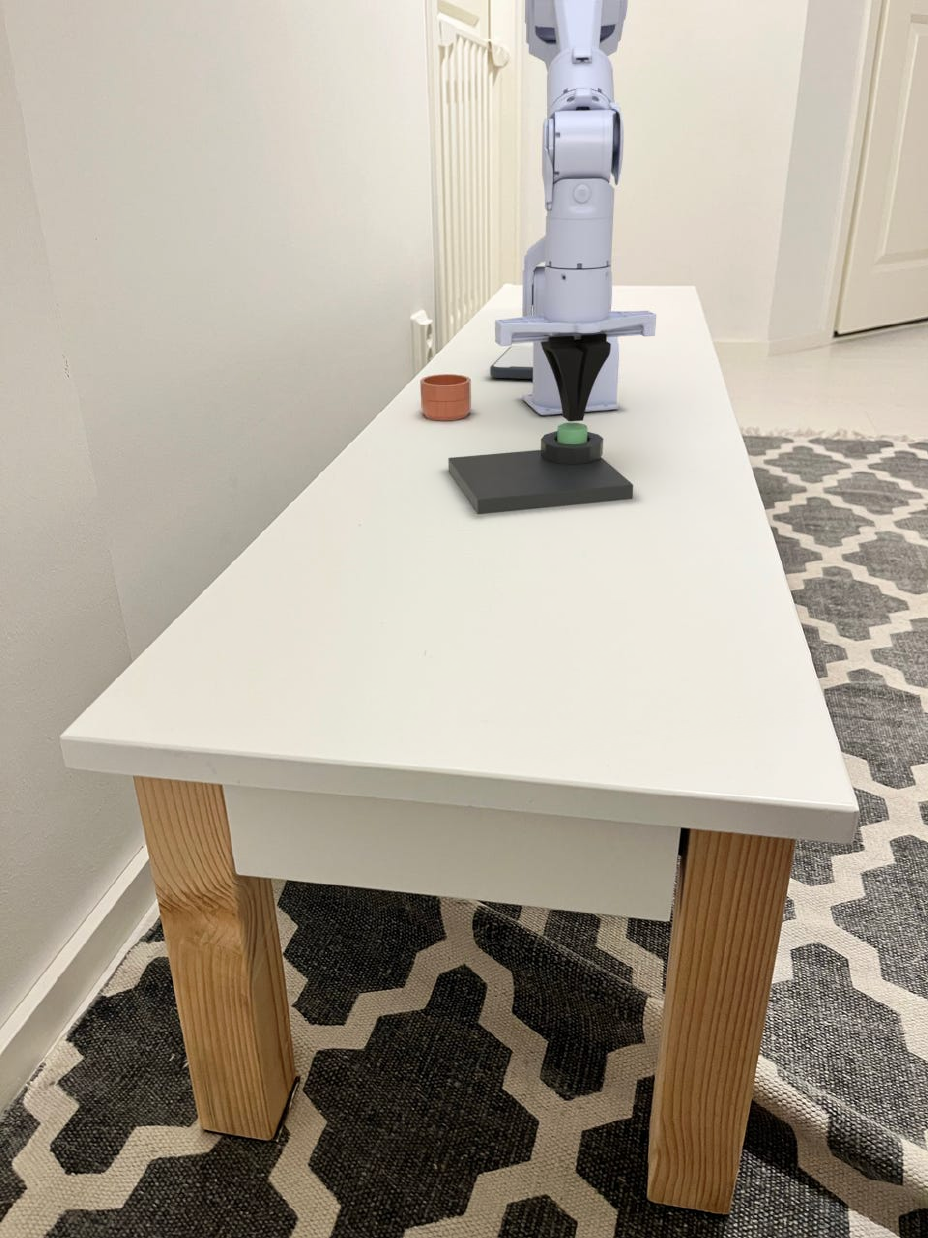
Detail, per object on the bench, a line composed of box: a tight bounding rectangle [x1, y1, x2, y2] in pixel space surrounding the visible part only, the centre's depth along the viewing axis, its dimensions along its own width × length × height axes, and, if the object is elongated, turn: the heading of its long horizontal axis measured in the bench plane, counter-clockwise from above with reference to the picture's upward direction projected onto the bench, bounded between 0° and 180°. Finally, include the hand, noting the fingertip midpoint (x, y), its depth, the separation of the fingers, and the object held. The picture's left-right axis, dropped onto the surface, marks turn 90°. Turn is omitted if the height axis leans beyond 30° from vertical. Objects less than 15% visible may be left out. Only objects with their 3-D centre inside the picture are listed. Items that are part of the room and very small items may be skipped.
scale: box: [447, 430, 634, 515], centre depth 89 cm, size 14×12×3 cm
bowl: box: [419, 373, 472, 422], centre depth 110 cm, size 6×6×4 cm
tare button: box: [557, 422, 588, 444], centre depth 92 cm, size 3×3×2 cm
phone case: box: [489, 345, 533, 380], centre depth 131 cm, size 9×2×16 cm
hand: (572, 418), depth 91 cm, fingers closed
